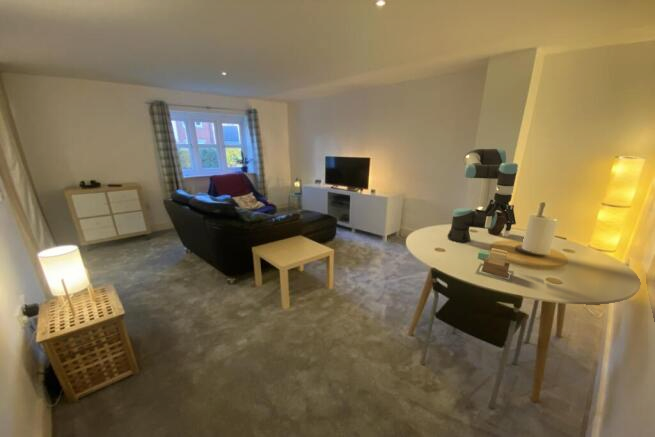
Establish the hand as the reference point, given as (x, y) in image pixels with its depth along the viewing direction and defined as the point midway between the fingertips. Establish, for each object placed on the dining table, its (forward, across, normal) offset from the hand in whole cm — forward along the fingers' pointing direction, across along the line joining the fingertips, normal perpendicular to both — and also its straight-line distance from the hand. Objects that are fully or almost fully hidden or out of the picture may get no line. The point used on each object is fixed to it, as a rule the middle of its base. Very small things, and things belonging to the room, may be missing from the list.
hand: (495, 231), depth 140 cm
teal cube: (+22, -9, +3) cm, 24 cm away
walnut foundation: (+20, +8, -3) cm, 22 cm away
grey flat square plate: (+21, +8, -3) cm, 23 cm away
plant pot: (+24, -53, +44) cm, 73 cm away
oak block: (+14, +8, -3) cm, 17 cm away
